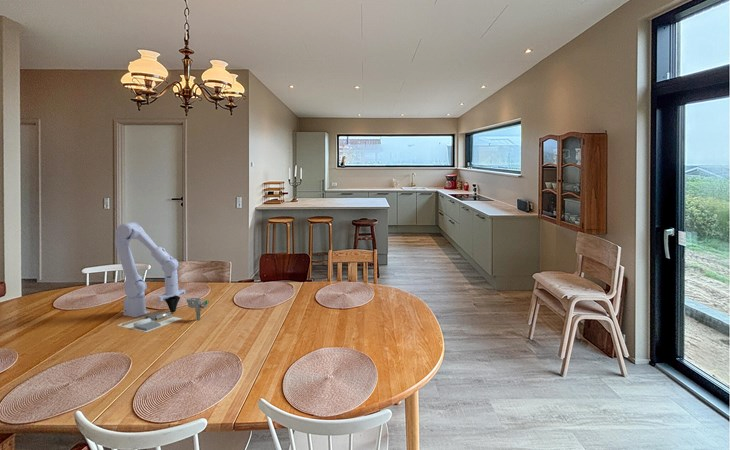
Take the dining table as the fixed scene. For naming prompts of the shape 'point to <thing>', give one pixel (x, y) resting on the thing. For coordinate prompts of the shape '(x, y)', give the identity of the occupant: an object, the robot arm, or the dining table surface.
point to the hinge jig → (148, 323)
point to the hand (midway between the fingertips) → (172, 311)
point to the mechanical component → (197, 305)
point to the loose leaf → (159, 315)
